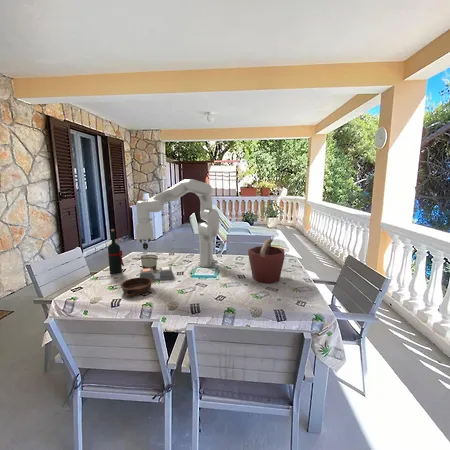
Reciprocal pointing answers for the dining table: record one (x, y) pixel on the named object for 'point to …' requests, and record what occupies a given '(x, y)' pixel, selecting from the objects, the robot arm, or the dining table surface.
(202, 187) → the robot arm
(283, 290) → the dining table surface
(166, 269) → the key cream
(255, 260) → the bucket
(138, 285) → the dish
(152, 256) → the grey arched window
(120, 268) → the wine bottle
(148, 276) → the key panel
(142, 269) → the key terracotta
